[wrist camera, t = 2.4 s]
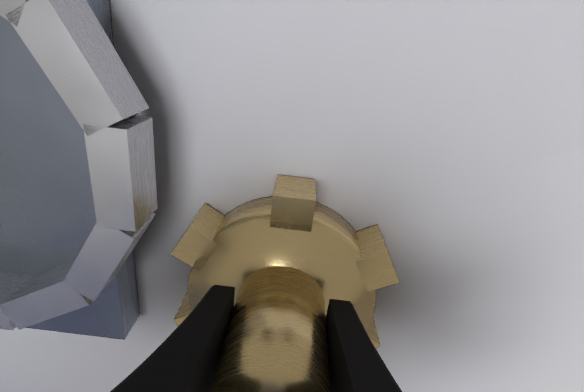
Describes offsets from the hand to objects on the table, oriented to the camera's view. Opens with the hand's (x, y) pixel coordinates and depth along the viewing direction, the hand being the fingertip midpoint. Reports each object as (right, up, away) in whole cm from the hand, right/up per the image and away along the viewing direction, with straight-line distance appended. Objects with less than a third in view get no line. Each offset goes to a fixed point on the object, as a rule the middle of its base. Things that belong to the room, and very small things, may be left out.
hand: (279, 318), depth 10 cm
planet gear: (0, +1, +2) cm, 2 cm away
